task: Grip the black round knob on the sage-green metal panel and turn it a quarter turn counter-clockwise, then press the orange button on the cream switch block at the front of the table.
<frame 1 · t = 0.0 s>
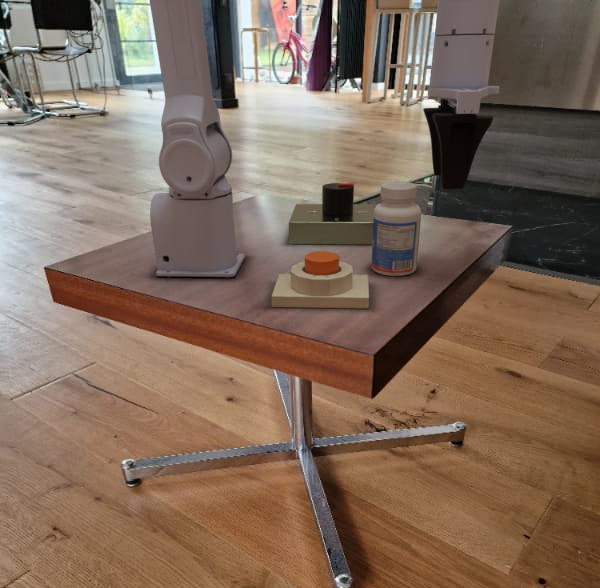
hand: (447, 181, 63), 10 cm above the table, tool pointing down, fingers open, 7 cm apart
panel: (337, 233, 83), on the table
button: (321, 264, 60), point 3 cm above the table, slide at 0.1 cm
dial: (337, 198, 80), point 5 cm above the table, hinge at 0.0°
switch block: (321, 295, 62), on the table
pill bottle: (393, 271, 69), on the table
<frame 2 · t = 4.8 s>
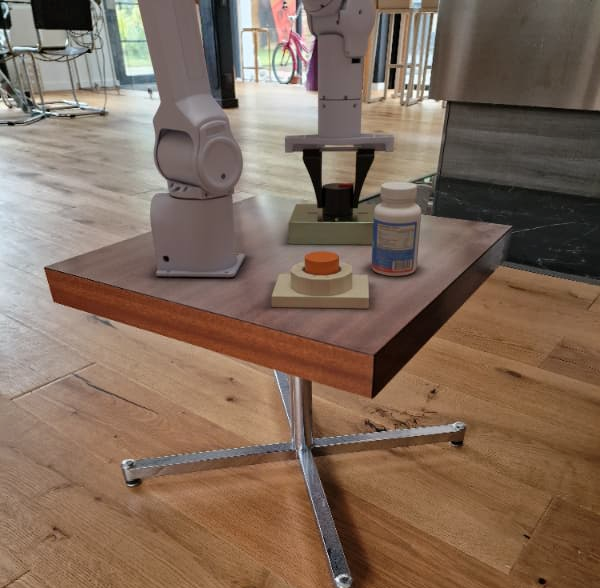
hand: (337, 206, 81), 4 cm above the table, tool pointing down, fingers closed on dial, 4 cm apart
dial: (337, 198, 80), point 5 cm above the table, hinge at 0.1°, touching gripper
everything else where it was.
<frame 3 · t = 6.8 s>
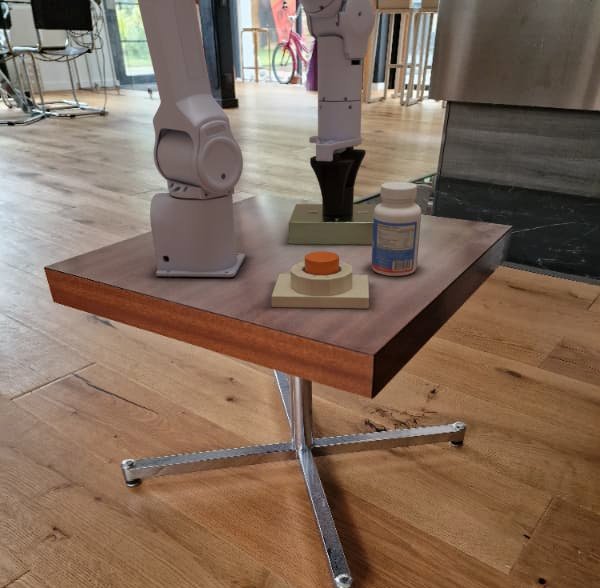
hand: (337, 207, 81), 4 cm above the table, tool pointing down, fingers closed on dial, 4 cm apart
dial: (337, 198, 80), point 5 cm above the table, hinge at 75.7°, touching gripper
everything else where it was.
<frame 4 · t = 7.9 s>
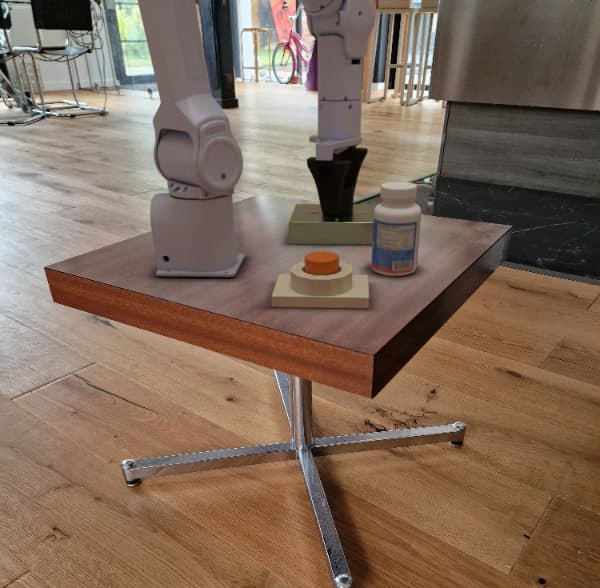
hand: (337, 207, 81), 4 cm above the table, tool pointing down, fingers open, 7 cm apart
dial: (337, 198, 80), point 5 cm above the table, hinge at 75.5°
everything else where it was.
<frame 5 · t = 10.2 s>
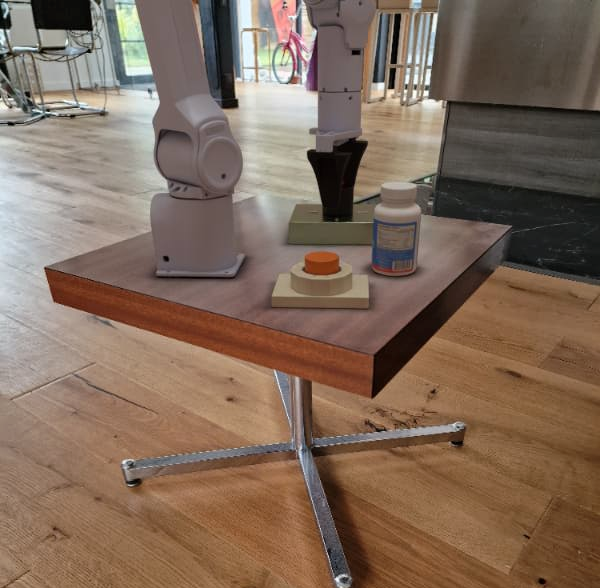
hand: (337, 200, 80), 5 cm above the table, tool pointing down, fingers open, 7 cm apart
nothing on the table moved.
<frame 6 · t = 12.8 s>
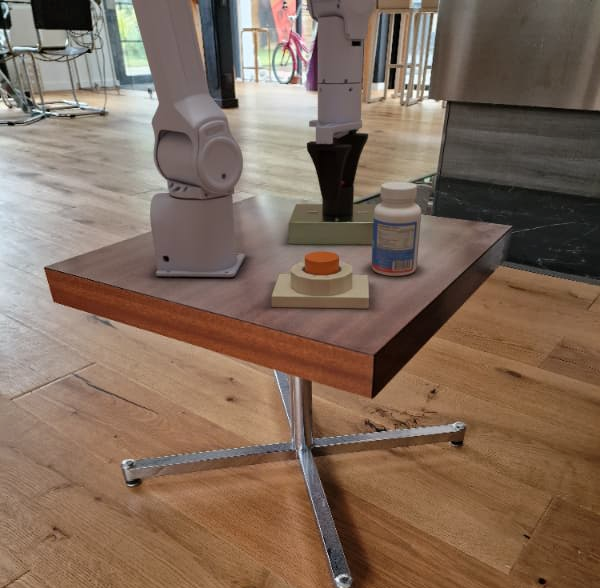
hand: (337, 193, 80), 6 cm above the table, tool pointing down, fingers open, 7 cm apart
nothing on the table moved.
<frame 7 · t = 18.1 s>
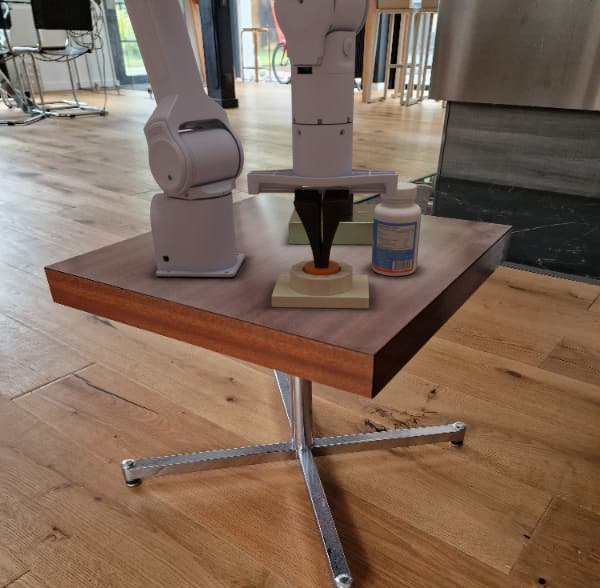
hand: (322, 265, 60), 3 cm above the table, tool pointing down, fingers closed, pressing on button
button: (321, 272, 60), point 3 cm above the table, slide at -0.9 cm, touching gripper
everything else where it was.
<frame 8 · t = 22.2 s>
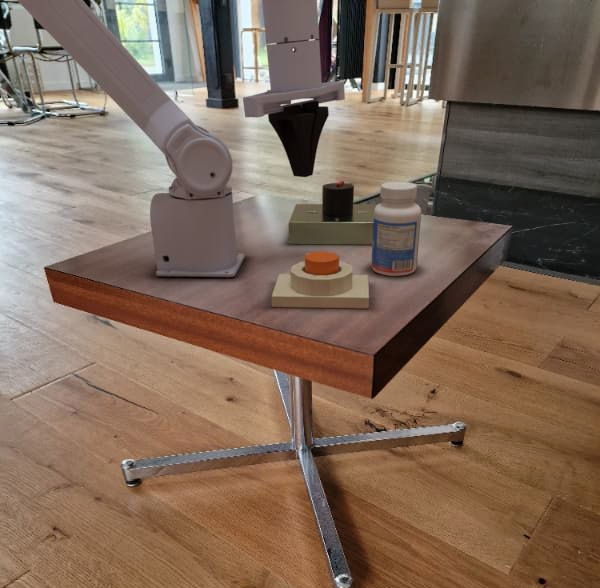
hand: (303, 175, 68), 10 cm above the table, tool pointing down, fingers closed
button: (321, 264, 60), point 3 cm above the table, slide at 0.1 cm
everything else where it was.
at the end: dial at +76° (first picture: +0°); button pushed in 1.0 cm at the most during the clip, back to where it started at the end; button slide at 0.1 cm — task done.
